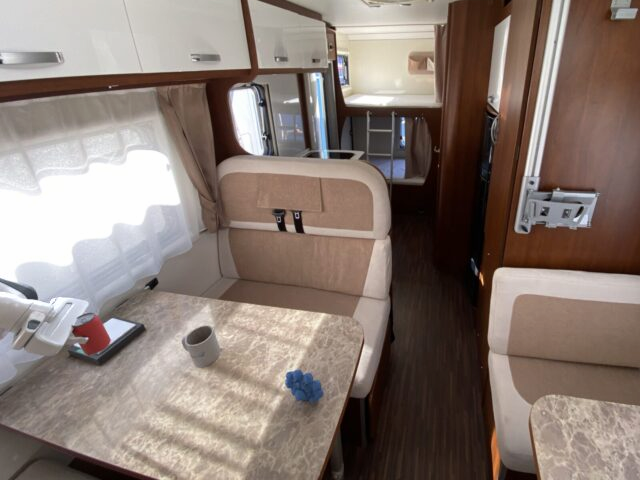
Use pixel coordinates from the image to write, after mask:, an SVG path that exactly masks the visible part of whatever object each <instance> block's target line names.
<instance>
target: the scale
mask: <svg viewBox="0 0 640 480" xmlns="http://www.w3.org/2000/svg"><path fill="white" fill-rule="evenodd" d="M103 325H104V327H105V329H106V331H107V333H108V335H109V337H110V339H111V341H110V344H109V345H108V346H107V347H106V348H105V349H103V350H102V351H100V352H98V353H96V354H92V355H86V354H85V353H84V352H83V350H82V348H81V347H80V345H79V343H76V344H71V345H70V346H69V347H68V348H66V351H67V352H68V354H69V355H70V356H72V355H73V356H72V357H75V356H76V357H75V358H77V357H78V359H80V358H81V359H80V360H84V361H86V362H89V363H92V364H95V365H98V366H102V365H103V364H105V363H106V362H107V361H108V360H109V359H111V358H112V357H113V356H115V355H116V354H117V353H118V352H120V351H121V350H122V349H123V348H125V347H126V346H127V345H129V343H131V342H132V341H134V339H136V338H137V337H138V336H140V335H141V334H142V333H144V332H145V331H146V326H145V325H144V323H142V322H141V323H140V322H138V321H134V320H131V319H127V318H123V317H119V316H116V315H114V316H112V317H111V318H109V319H108V320H106V321H105V322H104V323H103Z"/></svg>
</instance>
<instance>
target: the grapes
mask: <svg viewBox="0 0 640 480" xmlns="http://www.w3.org/2000/svg"><path fill="white" fill-rule="evenodd" d="M284 384H285V387H286V388H287V389H290V393H291V396H294V397H295V399H296V401H297V402H300V401H302V402H307V401H310V402H311V403H316V402H318V401H319V399H321V398H323V396H324V394H325V393H324V389H323V388H322V383H321V381H320V380H319V379H315V380H314V376H313V374H312V373H311V372H306V373H304V372H303V371H302V369H295V370H294V371H293V370H290V371H287V372H286V374H285V380H284Z"/></svg>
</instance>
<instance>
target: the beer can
mask: <svg viewBox="0 0 640 480" xmlns="http://www.w3.org/2000/svg"><path fill="white" fill-rule="evenodd" d="M77 318H78V319H77ZM77 318H76V319H77V321H76V322H75V324H74V325H72V327H74V330H73V331H72V333H71V334H72V335H73V336H74V337H82V336H83V335H85V336H89V339H88V341H87V342H86V343H85V344H80V343H79V345H80V347H81V348H82V350H83V352H84V353H85V354H86V355H92V354H96V353H98V352H100V351H102V350H103V349H105V348H106V347H107V346H108V345H109V344H110V341H111V339H110V337H109V335H108V333H107V331H106V329H105V327H104V325H103V324H104V323H103V321H102V320H101V317H99V316H98V315H97V314H96V313H95V312H87V313H86V314H83V315H81V316H79V317H77Z"/></svg>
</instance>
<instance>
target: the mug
mask: <svg viewBox="0 0 640 480" xmlns="http://www.w3.org/2000/svg"><path fill="white" fill-rule="evenodd" d="M181 345H182V347H183V349H185V351H186V352H188V354H189V356H190V359H191V361H192V364H193V365H194V366H195V367H197V368H204V367H207V366H210V365H212V364H213V363H214V362H216V361H217V360H218V359H219V357H220V356H221V352H222V349H221V347H220V344H219V341H218V338H217V336H216V333H215V329H214V327H213V326H212V325H209V324H204V325H200V326H197V327H196V328H193V329H192V330H191V331H190V332H188V333H187V335H184V336H183V337H182V339H181Z"/></svg>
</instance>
